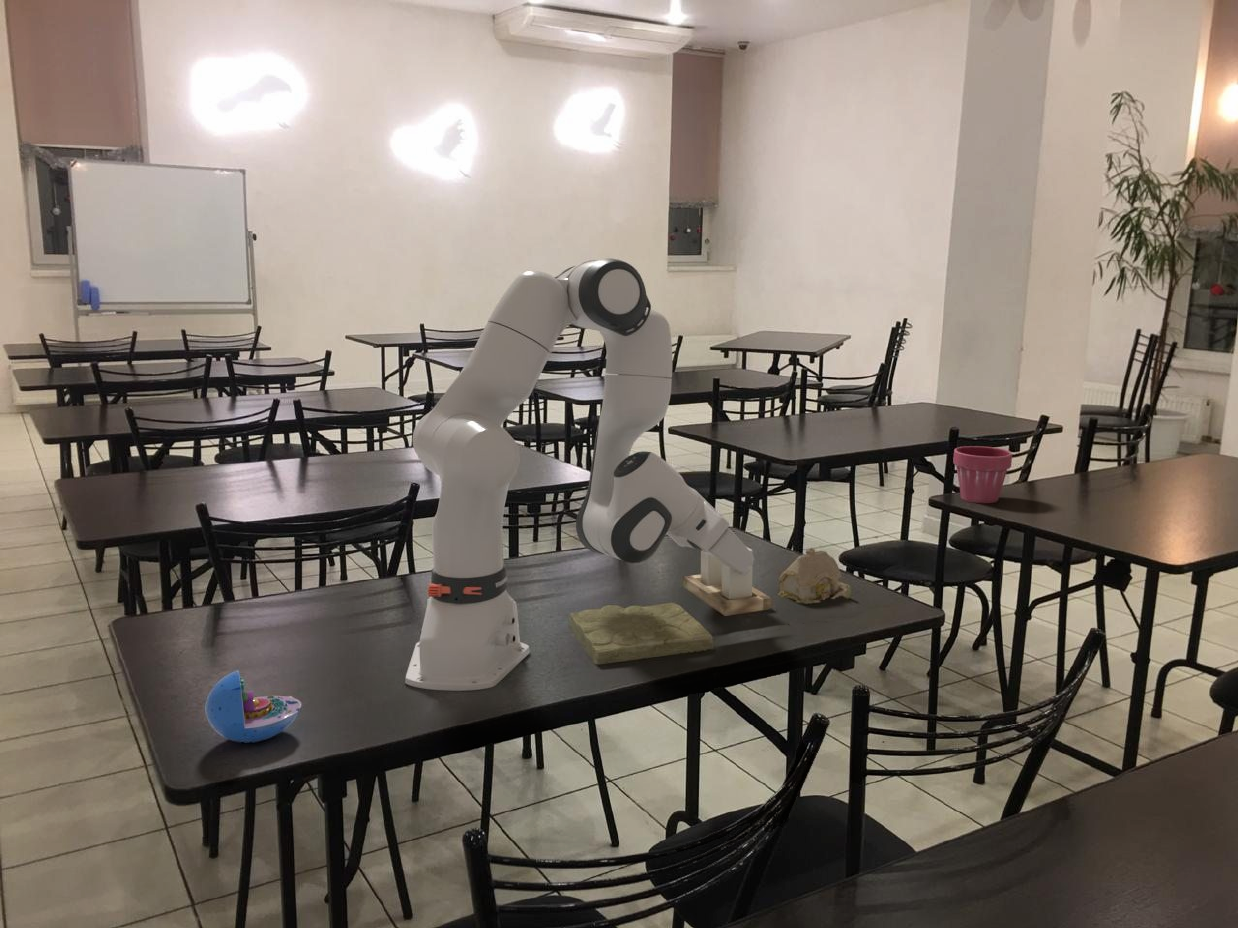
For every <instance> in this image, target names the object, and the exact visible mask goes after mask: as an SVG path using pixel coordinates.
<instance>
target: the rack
mask: <svg viewBox="0 0 1238 928" xmlns="http://www.w3.org/2000/svg"><path fill="white" fill-rule="evenodd" d="M683 588H684V589H686V590H687V591H688V592H689V593H692V594H693V595H694V596H696V597H697V598H699V599H700V600H702V601H703V602H704V603H706V604H707V605H709V606H710V607H711V608H713V609H714V610H716V611H717V612H719V613H720V614H722V615H723V616H725V617H726V616H733V615H741V614H747V613H753V612H760V611H767V610H771V609H772V603H771V602H772V598H771V597H770V596H769V595H766V594H765V593H764V592H762V591H760V590H759V589H758V588H755V587H754V586H752V596H751V597H744V598H737V599H730V600H729V599H728V598H726V597H725V596H723V595H722V584H719V585H712V586H706V585H704V584H703V583H701V573H700V574H694V575H693V574H692V575H687V576H686V575H685V576H683Z"/></svg>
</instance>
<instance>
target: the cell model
mask: <svg viewBox="0 0 1238 928" xmlns="http://www.w3.org/2000/svg"><path fill="white" fill-rule="evenodd" d="M211 688H212V689H211V690H210V691H209V693H208V694H207V697H206V701H205V707H204V711H205V716H206V719H207V722H208V723H209V725H210V726H211V728H212V729H213V730H214V731H215V732H216V733H217V734H218V735H220V736H221V737H223V738H224V739H227V740H229V741H233V742H237V743H241V742H244V743H245V744H249V743H250V742H252V743H258V742H262V741H265V740H268V739H271V738H272V737H275V736H278V735H279V734H281V732H283V731H284V730H286V729H287V728H288V727H289V726H291V725H292V723H293V722H294V721H296V719H297V717H298V715H299V712H300V710H301V707H302V702H301V701H300V700H299V699H297V698H295V697H293V696H292V695H289V696H285V695H284V696H283V695H266V696H265V695H264V696H257V697H254V692H253V690H250V691H246V690H245V682H244V677H240V670H239V669H237V670H235V671H232V672H231V673H228V674H226V675H225V676H223V677H222V678H221V679H220V680H219V681H218V682H216V683H215V684H214V686H213V687H211Z"/></svg>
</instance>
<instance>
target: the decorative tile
mask: <svg viewBox="0 0 1238 928" xmlns="http://www.w3.org/2000/svg"><path fill="white" fill-rule="evenodd" d="M568 628H569V630H570V631H571V633H572V635H573V636H574V637H575V639H576V640H577V642H578V643H579V645H580V646H581V647H582V649H583V650H584V652H585V653H586V654H587V655H588V657H589V658H590V659H591V661H592V663H593V664H594V665H605V664H611V663H612V664H613V663H619V662H627V661H628V662H629V661H635V660H642V659H643V658H644V659H650V658H656V657H666V656H672V655H673V656H674V655H681V654H686V653H688V652H689V653H695V652H694V651H696V652H701V651H700V650H704V651H707V650H706V649H711V650H713V649H714V643H713V641H714V640H713V635H712V634H711V633H710V632H709V631H708V630H707V629H706V628H704V626H703V625H702V624H701V623H700V622H699V621H697V620H696V619H695V617H693V616H691V614H689V613H688V612H687V611H686V610H685V609H684V608H683V607H681V605H680V604H676V603H675V602H667V603H666V602H665V603H662V604H661V603H660V604H656V605H647V606H640V605H630V606H627V607H622V606H620V605H614V604H613V605H611V604H608V605H604V606H602V608H593V609H592V608H591V609H589V608H588V609H584V610H583V611H578V612H570V613H569V618H568ZM680 653H681V654H680Z"/></svg>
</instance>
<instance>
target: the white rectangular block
mask: <svg viewBox="0 0 1238 928" xmlns="http://www.w3.org/2000/svg"><path fill="white" fill-rule="evenodd" d="M746 547H747V548H748V550H749V551H750V552H751V553H752V555H753V556H754V551H753V549H752V548H749V547H748V546H746ZM753 564H754V563H753ZM753 564H752V565H751V566H750V567H749V568H750V572H749V573H748V574H747V575H746V576H743V575H741V574H739V573H738V572H736V571H735V570H733V569H731V568H730V567H728V566H726V565H725V564H723V563H722V595H723V596H725V597H726V598H728V599H729V600H730V599H737V598H744V597H751V596H752V587H753V567H754V565H753Z"/></svg>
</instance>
